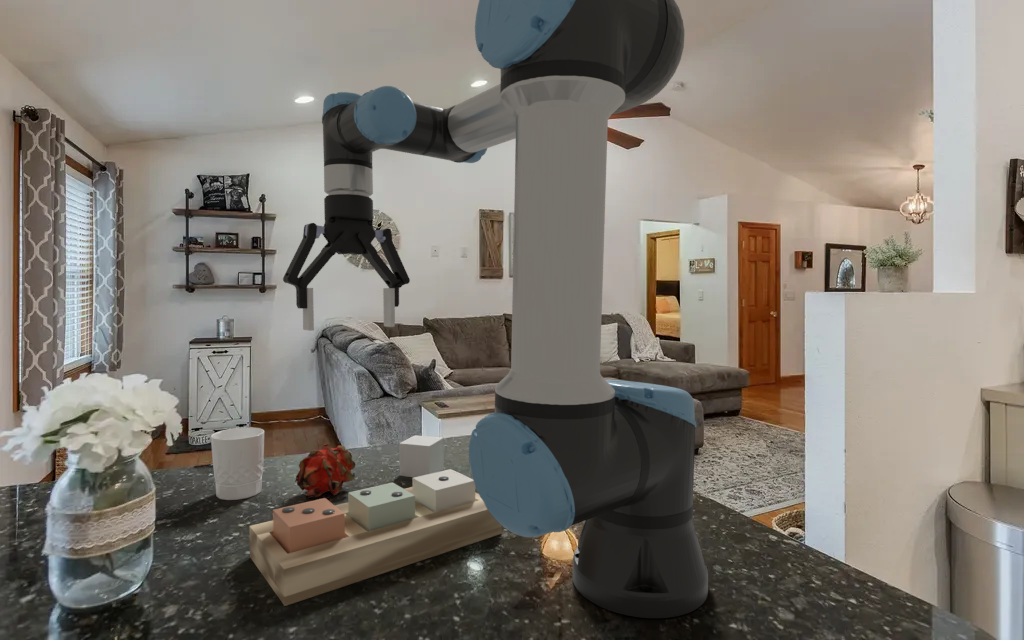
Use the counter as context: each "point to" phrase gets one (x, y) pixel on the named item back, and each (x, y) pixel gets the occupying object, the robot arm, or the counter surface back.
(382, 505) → the key two
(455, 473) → the key one
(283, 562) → the key panel
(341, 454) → the dragon fruit
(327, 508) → the key three
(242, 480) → the white cup
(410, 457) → the white cube
